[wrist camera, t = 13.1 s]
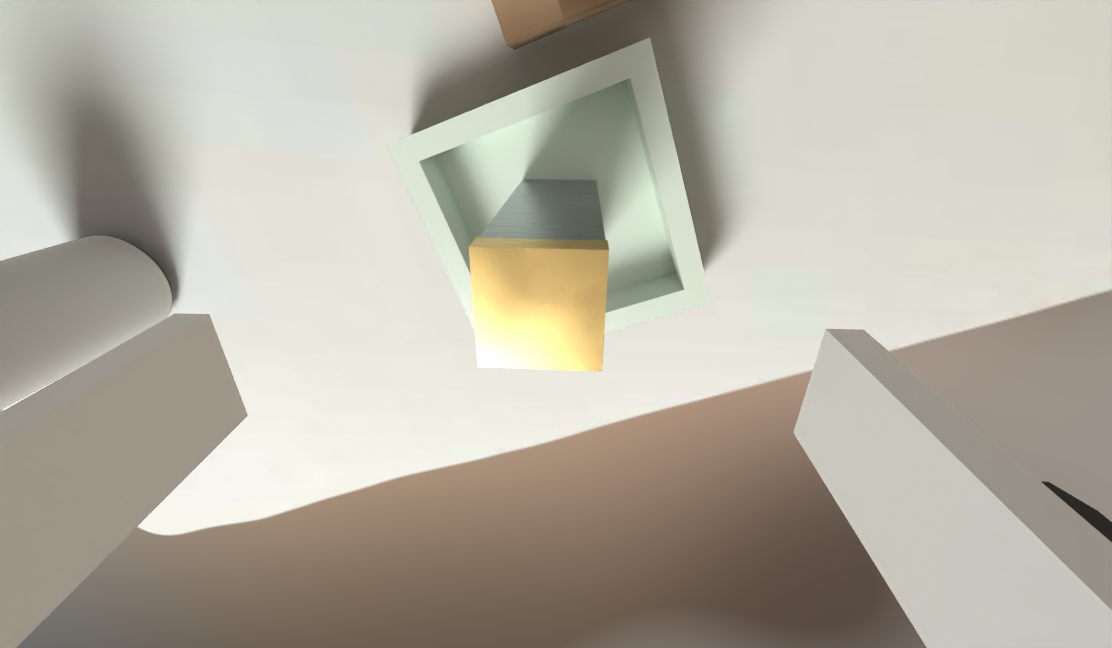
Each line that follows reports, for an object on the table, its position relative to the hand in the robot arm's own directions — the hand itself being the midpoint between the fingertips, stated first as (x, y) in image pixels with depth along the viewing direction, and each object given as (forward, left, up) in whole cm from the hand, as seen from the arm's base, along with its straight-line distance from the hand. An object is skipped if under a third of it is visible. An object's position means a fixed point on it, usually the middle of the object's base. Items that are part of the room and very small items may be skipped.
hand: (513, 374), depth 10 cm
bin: (0, 0, -18) cm, 18 cm away
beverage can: (-5, -28, -18) cm, 34 cm away
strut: (0, 0, -17) cm, 17 cm away
